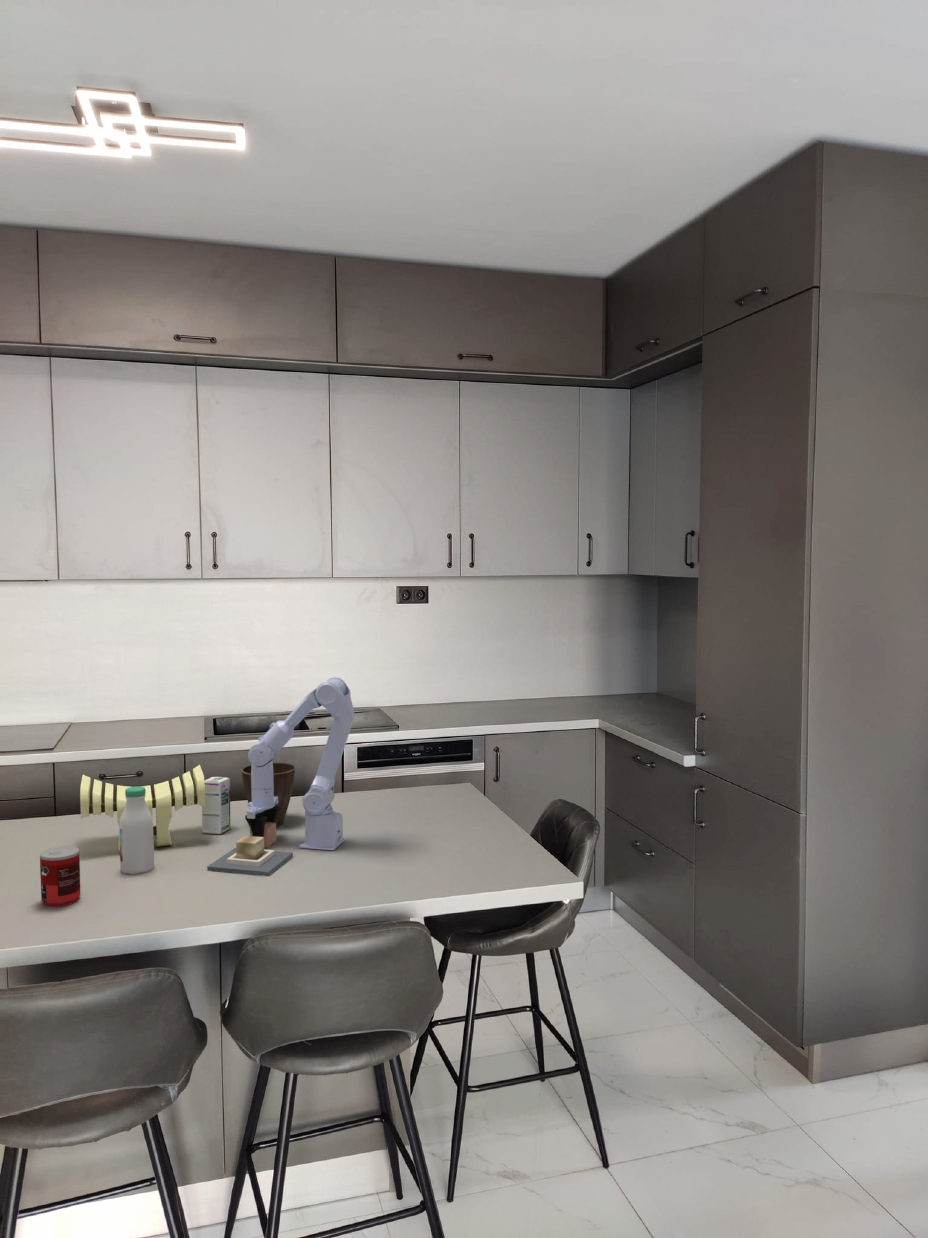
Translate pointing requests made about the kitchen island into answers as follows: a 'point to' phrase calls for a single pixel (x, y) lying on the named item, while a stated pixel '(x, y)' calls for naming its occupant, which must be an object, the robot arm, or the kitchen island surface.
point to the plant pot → (275, 786)
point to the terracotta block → (268, 833)
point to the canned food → (60, 876)
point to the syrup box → (216, 805)
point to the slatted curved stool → (146, 800)
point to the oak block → (250, 848)
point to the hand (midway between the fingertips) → (263, 837)
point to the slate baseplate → (250, 863)
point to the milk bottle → (136, 833)
